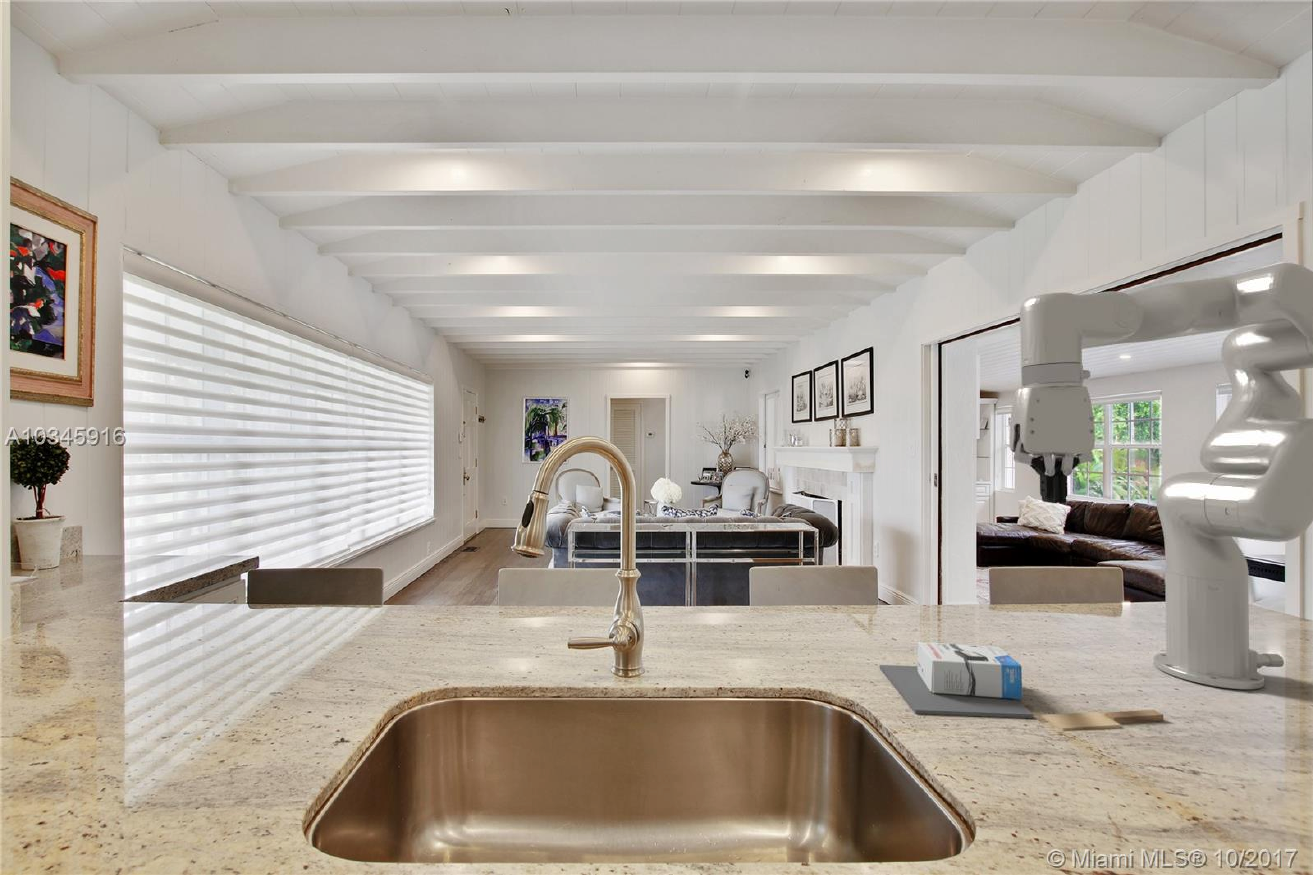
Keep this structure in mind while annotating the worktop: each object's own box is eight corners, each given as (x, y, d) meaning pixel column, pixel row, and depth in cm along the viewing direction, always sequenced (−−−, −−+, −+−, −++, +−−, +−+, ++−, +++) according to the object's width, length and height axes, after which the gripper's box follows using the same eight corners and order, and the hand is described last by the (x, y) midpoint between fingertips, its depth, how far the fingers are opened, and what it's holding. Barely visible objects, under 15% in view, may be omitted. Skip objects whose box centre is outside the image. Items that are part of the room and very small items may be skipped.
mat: (976, 671, 93) (976, 668, 93) (1033, 718, 77) (1033, 714, 77) (879, 668, 94) (879, 665, 94) (915, 713, 78) (915, 709, 78)
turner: (1145, 712, 78) (1145, 706, 78) (1171, 724, 75) (1171, 718, 75) (1041, 718, 77) (1041, 712, 77) (1062, 731, 73) (1062, 725, 74)
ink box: (1023, 665, 81) (931, 659, 83) (1023, 701, 81) (932, 694, 83) (998, 644, 89) (916, 640, 91) (998, 677, 89) (916, 671, 91)
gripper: (1086, 380, 90) (1089, 499, 90) (986, 382, 91) (988, 500, 91) (1122, 374, 83) (1125, 504, 82) (1013, 377, 83) (1015, 505, 83)
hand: (1053, 502), depth 87 cm, fingers closed
